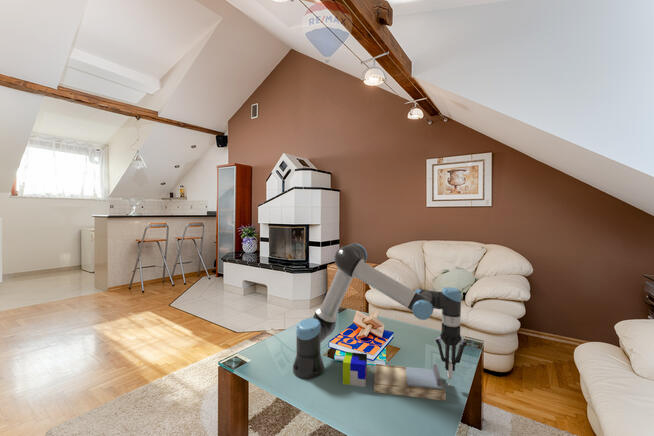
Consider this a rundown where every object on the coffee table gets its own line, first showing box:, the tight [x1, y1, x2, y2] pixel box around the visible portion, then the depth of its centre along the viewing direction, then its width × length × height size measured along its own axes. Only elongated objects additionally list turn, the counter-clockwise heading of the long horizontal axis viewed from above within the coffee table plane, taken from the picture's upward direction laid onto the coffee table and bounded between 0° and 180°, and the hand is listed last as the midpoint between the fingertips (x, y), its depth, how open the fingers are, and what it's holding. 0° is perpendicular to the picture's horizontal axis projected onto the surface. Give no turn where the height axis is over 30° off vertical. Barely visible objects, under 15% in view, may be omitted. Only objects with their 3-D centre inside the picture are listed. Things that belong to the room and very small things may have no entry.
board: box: [373, 363, 447, 402], centre depth 135 cm, size 29×18×3 cm, turn 79°
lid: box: [405, 363, 442, 389], centre depth 134 cm, size 14×14×4 cm
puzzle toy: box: [342, 351, 368, 387], centre depth 138 cm, size 10×10×10 cm
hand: (449, 377), depth 131 cm, fingers closed
